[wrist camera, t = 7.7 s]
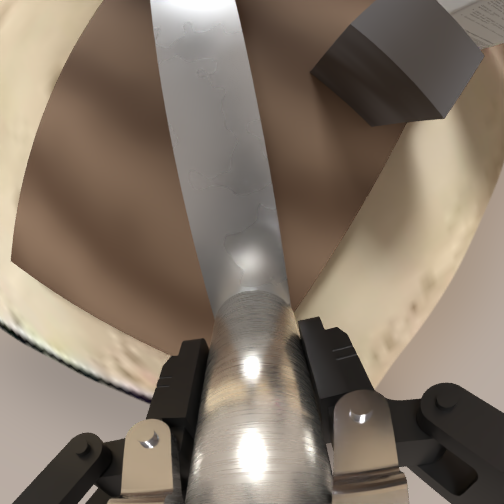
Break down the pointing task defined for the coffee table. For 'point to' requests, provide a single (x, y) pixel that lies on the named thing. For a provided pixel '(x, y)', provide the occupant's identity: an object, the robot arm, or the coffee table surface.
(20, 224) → the brown board
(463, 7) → the supplement box
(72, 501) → the robot arm
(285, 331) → the lever
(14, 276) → the coffee table surface
